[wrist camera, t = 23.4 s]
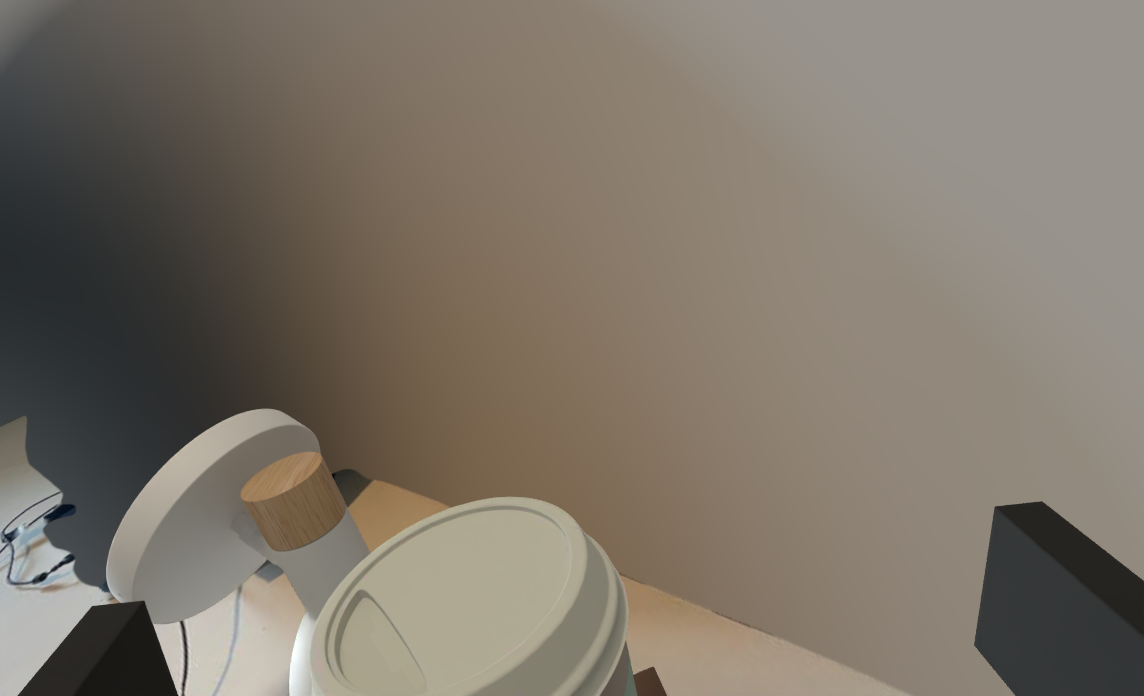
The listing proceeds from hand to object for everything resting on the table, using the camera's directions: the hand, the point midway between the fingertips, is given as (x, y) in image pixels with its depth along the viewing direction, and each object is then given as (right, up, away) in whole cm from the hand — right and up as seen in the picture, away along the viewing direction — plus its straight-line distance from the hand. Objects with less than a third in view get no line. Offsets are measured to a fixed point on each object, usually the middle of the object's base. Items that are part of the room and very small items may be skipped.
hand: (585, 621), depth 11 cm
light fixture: (-11, -19, +32) cm, 39 cm away
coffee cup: (0, -17, +17) cm, 24 cm away
